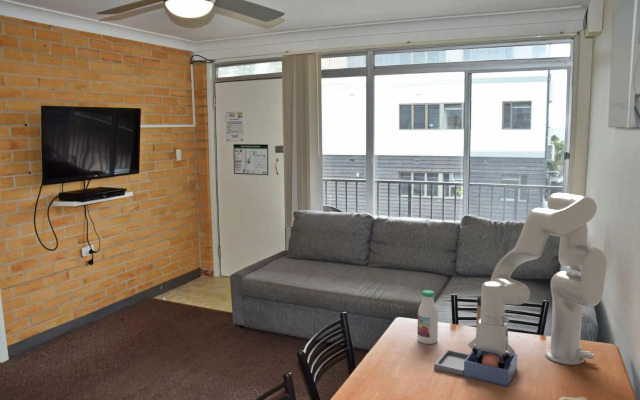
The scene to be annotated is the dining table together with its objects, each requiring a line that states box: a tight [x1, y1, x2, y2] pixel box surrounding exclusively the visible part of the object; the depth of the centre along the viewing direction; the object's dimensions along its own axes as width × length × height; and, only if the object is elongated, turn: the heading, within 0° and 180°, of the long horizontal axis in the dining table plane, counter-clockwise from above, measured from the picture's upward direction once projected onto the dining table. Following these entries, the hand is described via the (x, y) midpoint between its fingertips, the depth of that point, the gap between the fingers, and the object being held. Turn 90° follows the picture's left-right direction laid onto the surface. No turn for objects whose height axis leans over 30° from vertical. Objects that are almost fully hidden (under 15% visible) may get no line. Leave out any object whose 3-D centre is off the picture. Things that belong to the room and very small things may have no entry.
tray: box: [433, 349, 470, 377], centre depth 181 cm, size 10×14×2 cm
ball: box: [482, 354, 500, 368], centre depth 175 cm, size 6×6×6 cm
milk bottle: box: [416, 289, 439, 345], centre depth 201 cm, size 8×8×20 cm
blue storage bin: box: [463, 350, 518, 388], centre depth 175 cm, size 14×14×6 cm
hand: (490, 369), depth 175 cm, fingers closed on ball, 5 cm apart
